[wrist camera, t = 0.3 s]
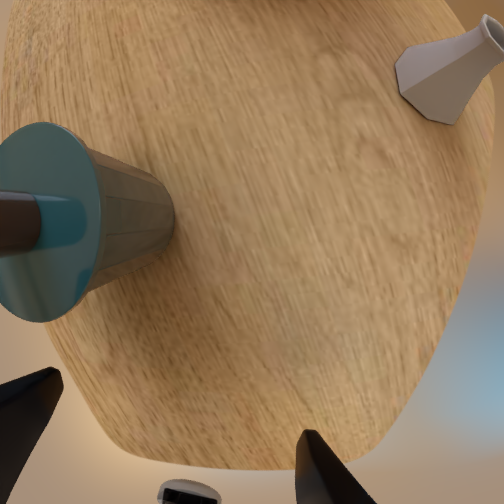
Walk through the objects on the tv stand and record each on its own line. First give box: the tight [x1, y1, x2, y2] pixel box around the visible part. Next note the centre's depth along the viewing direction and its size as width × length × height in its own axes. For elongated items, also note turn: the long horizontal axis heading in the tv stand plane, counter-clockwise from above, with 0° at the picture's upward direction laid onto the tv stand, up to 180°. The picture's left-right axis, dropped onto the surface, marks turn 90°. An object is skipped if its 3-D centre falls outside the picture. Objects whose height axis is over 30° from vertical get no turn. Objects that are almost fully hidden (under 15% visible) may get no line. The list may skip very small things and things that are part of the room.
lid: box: [0, 122, 107, 323], centre depth 7 cm, size 8×8×5 cm
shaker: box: [88, 148, 175, 292], centre depth 14 cm, size 7×7×10 cm
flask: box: [395, 14, 504, 125], centre depth 13 cm, size 7×7×10 cm
